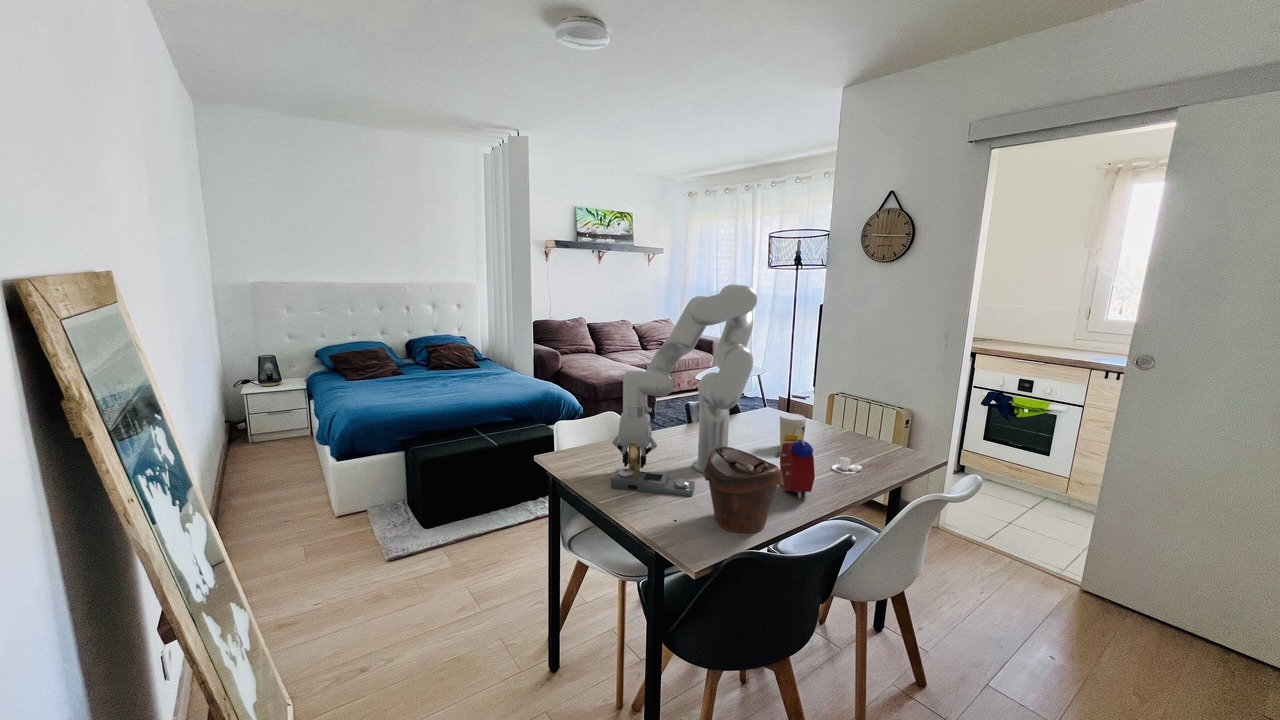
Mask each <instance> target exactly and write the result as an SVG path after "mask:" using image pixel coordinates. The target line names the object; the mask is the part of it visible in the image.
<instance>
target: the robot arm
mask: <svg viewBox="0 0 1280 720" xmlns="http://www.w3.org/2000/svg"><path fill="white" fill-rule="evenodd" d="M757 302H758V296H757V293H756V291H755V290H754V289H753V288H752V287H751V286H748V285H743V284H727V285H725V286H724V287H723V288H722V289H721V290H720V291H719V293H717V294H714V295H709V296H705V295H704V296H703V295H698V296H697V295H696V296H695V297H692V298H691V299H690V300H689V302H687V304H686V306H685V308H684V309H683V311H682V313H681V315H680V317H679V318H678V320H677V322H676V324H675V325H674V328H673V329H672V331H671V333H670V335H669V336H668V337H667V339H666V340H665V341H664V342H663V344H662V345H661V346H659V348H658V350H657V351H656V353H654V355H653V357H652V359H651V361H650V362H649V365H648V366H647V368H646V370H645V371H641V370H629V371H626V372H624V374H623V378H622V386H623V387H622V390H623V391H622V413H621V414H620V418H619V423H618V434H617V436H616V437H615V439H613V440H612V445H613V446H614V447H616V448H617V449H618V451H619V452H621V455H622V464H623V466H624V468H625V467H628V466H629V446H636V447H640V453H641V454H640V469H643V468H644V467H645V466H646V465H647V455H648V454H649V453H651V451H653V450H655V449H657V446H658V443H657V442H656V441H655V440H654V438H653V435H652V422H651V416H650V414H649V413H652V410H653V409H652V407H650V406H649V405H648V396H655V397H665V396H667V395H669V394H671V393H672V391H673V389H674V387H675V383H674V379H673V377H672V376H671V375H670V373H671V371H672V370H673V368H674V367H675V365H676V364H677V363H678V361H679V360H680V359H681V358H682V357H684V356H687V355H688V354H689V353H691V352H692V351H693V350H694V349H695V347H696V346H697V344H698V342H699V340H700V338H701V336H702V335H703V333H704V331H705V330H706V328H707V327H708V326H709V327H710V326H715V325H718V324H721V323H724V322H725V325H724V328H723V331H722V334H721V335H720V338H719V341H718V343H717V346H716V349H715V350H714V354H713V363H714V365H715V366H716V367H717V368H718V369H719V371H718V372H715V371H714V372H712V371H711V372H708V373H706V374H704V375H703V376H702V378H701V379H700V380H699V383H698V391H697V392H698V404H699V415H698V417H699V418H698V419H699V420H698V446H697V447H698V449H697V459H695V460H694V461H693V464H692V468H693V469H694V470H695V471H697V472H699V473H702V474H704V469H705V467H706V464H707V461H708V457H709V455H710V453H711V452H712V451H713V450H714V449H715V448H717V447H722V446H725V447H729V427H730V426H729V425H730V409H733V408H734V407H735V406H736V405H737V404H738V402H739V401H740V400H741V397H742V395H743V392H744V390H745V388H746V385H747V383H748V381H749V378H750V375H751V373H752V370H753V367H754V357H753V354H752V352H751V350H750V349H749V348H748V347H747V346H748V343H749V341H750V338H751V335H752V332H753V329H754V327H753V326H754V316H753V312H752V311H753V310H754V309H755V307H756V306H757ZM630 441H631V442H636V444H637V445H630Z"/></svg>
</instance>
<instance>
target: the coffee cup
mask: <svg viewBox="0 0 1280 720" xmlns="http://www.w3.org/2000/svg"><path fill="white" fill-rule="evenodd" d="M806 423H807V418H806V417H805V416H804V415H802V414H797V413H782V414H781V415H780V416H779V440H780V441H779V444H780V445H779V446H780V449H782V445H783V444H785V443H793V441H784V438H785V436H786V435H788V434H792V433H793V431H794V428H795V426H800V428H801V430H802V432H803V439H804V438H805V432H806V431H805V430H806V425H807V424H806ZM795 434H799V435H801V436H802V433H801V431H800V429H799V427H796V432H795ZM804 440H805V439H804ZM795 442H798V441H795Z"/></svg>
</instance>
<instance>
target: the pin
mask: <svg viewBox="0 0 1280 720" xmlns="http://www.w3.org/2000/svg"><path fill="white" fill-rule="evenodd" d="M630 445H637V444H636V442H631V441H630ZM628 453H629V463H628V469H631V470H632V471H641V468H640V457H641V448H640V447H636V446H628Z"/></svg>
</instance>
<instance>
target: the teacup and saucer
mask: <svg viewBox="0 0 1280 720" xmlns="http://www.w3.org/2000/svg"><path fill="white" fill-rule="evenodd" d="M838 460H839V463H838ZM835 461H836V464H834V465H832V466H831V469H832V470H833V471H835V472H838V473H842V474H848V475H851V474H856V473H858V472H860V471H861V470H862V469H863V468H862V466H861V465H860V464H853V465H850V464H851V458H850V457H846V456H841V457H839V458H836V459H835ZM837 467H839V468H840V470H838V469H837ZM849 469H850V471H849V472H846V471H848V470H849ZM841 470H842V471H841Z"/></svg>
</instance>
